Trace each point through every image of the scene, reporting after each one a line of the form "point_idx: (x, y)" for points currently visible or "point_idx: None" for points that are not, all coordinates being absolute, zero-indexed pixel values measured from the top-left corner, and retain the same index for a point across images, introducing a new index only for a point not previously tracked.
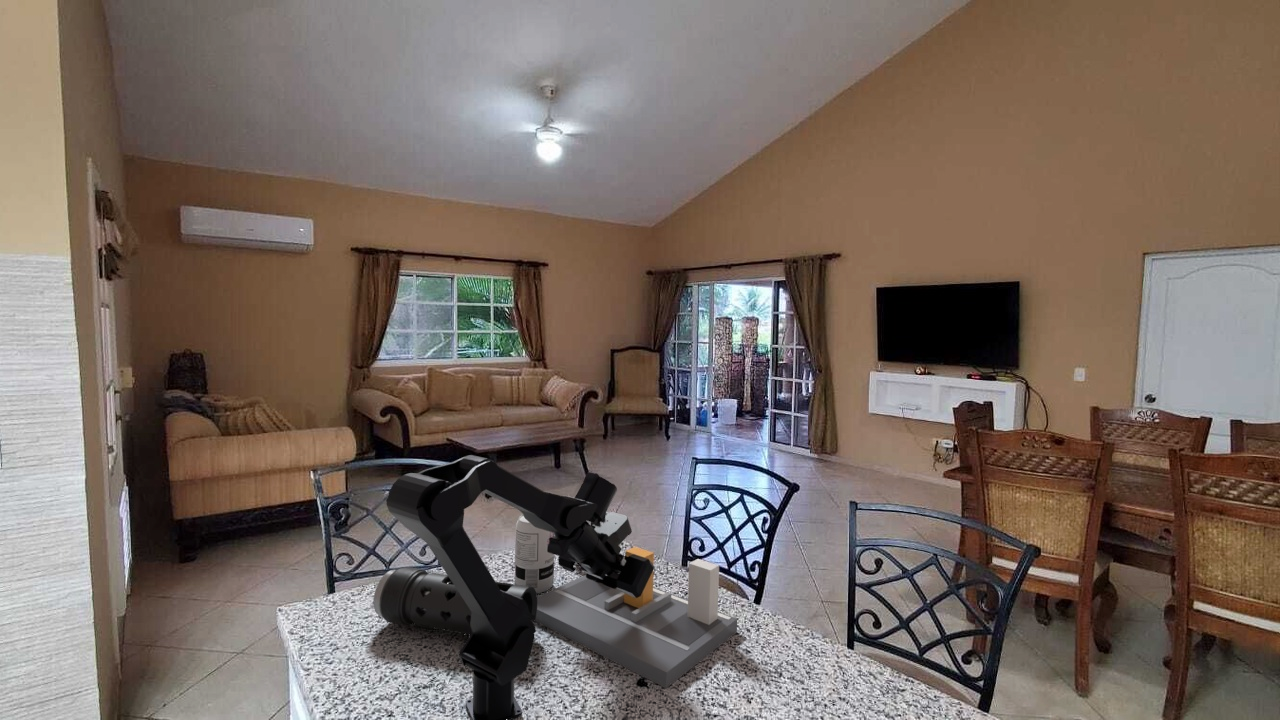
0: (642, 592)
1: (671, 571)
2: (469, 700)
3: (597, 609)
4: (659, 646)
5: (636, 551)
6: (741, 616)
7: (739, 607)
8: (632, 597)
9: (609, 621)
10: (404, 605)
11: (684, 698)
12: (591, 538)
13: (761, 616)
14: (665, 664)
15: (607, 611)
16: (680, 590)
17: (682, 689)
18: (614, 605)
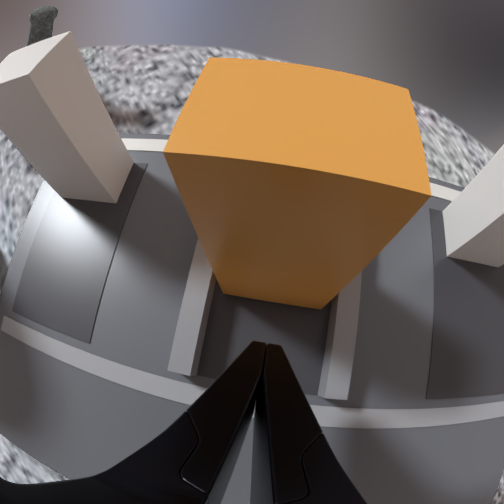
0: (333, 291)
1: (225, 57)
2: None
3: (158, 390)
4: (457, 454)
5: (275, 109)
6: (459, 155)
7: (434, 125)
8: (267, 293)
9: (248, 445)
10: None
11: (499, 489)
12: None
13: (476, 144)
14: (484, 493)
15: (198, 383)
16: None
17: None
18: (203, 339)
